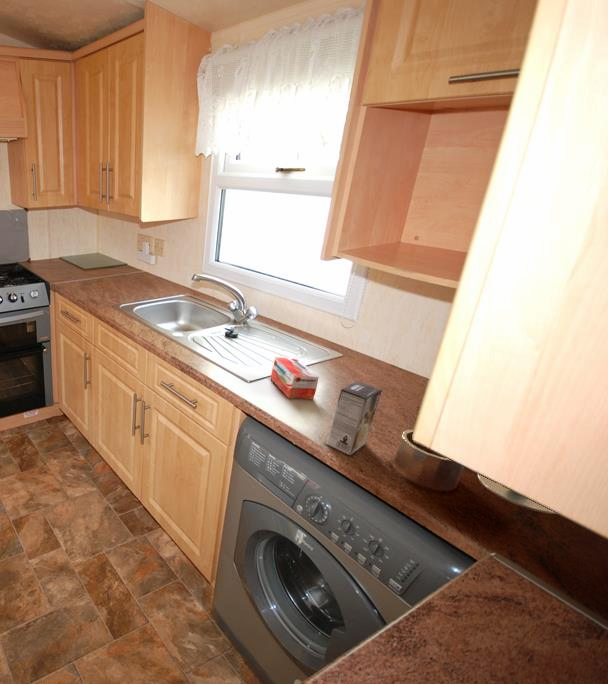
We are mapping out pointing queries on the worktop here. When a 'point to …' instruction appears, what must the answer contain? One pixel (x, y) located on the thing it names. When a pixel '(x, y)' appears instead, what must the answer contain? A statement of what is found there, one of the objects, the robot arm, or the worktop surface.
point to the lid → (512, 496)
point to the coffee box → (353, 417)
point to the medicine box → (294, 378)
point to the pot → (425, 465)
